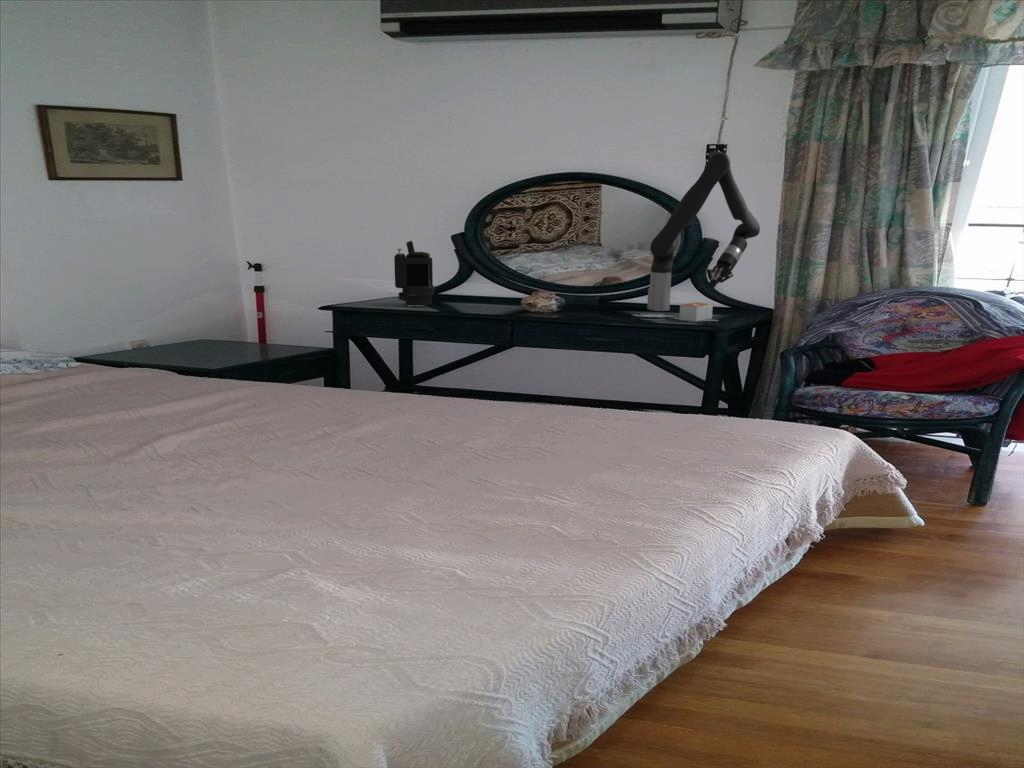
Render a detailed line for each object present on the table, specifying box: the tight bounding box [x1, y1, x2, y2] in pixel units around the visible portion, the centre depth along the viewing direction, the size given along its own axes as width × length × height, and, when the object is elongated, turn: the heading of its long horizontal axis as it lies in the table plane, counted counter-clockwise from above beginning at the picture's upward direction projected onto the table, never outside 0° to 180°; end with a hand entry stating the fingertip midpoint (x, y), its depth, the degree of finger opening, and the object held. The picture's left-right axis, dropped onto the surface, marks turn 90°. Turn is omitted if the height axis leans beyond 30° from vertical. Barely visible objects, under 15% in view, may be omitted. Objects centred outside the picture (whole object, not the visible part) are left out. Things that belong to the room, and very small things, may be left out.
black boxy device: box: [393, 240, 435, 305], centre depth 349 cm, size 15×18×30 cm
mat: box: [675, 315, 719, 323], centre depth 311 cm, size 18×12×1 cm
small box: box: [678, 301, 713, 321], centre depth 310 cm, size 8×6×13 cm
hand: (709, 288), depth 315 cm, fingers closed
